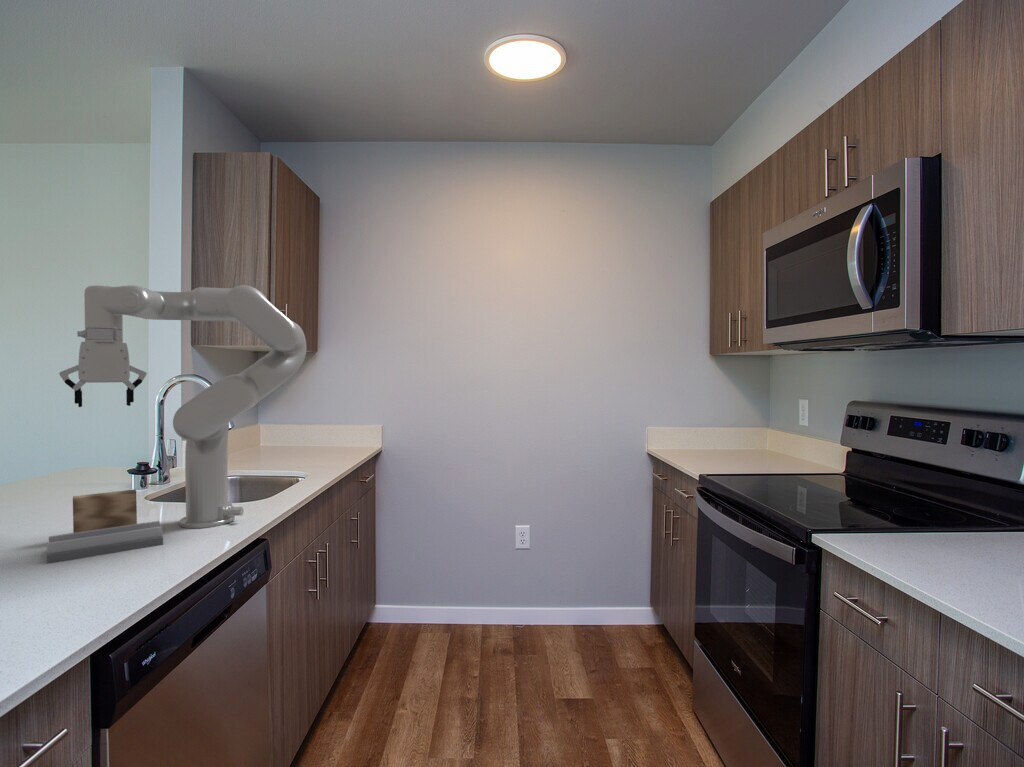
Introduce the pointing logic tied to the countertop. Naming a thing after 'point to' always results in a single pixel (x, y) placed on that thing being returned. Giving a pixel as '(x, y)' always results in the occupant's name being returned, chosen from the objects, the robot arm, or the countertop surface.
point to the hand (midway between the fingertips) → (104, 406)
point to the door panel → (104, 510)
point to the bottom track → (103, 541)
